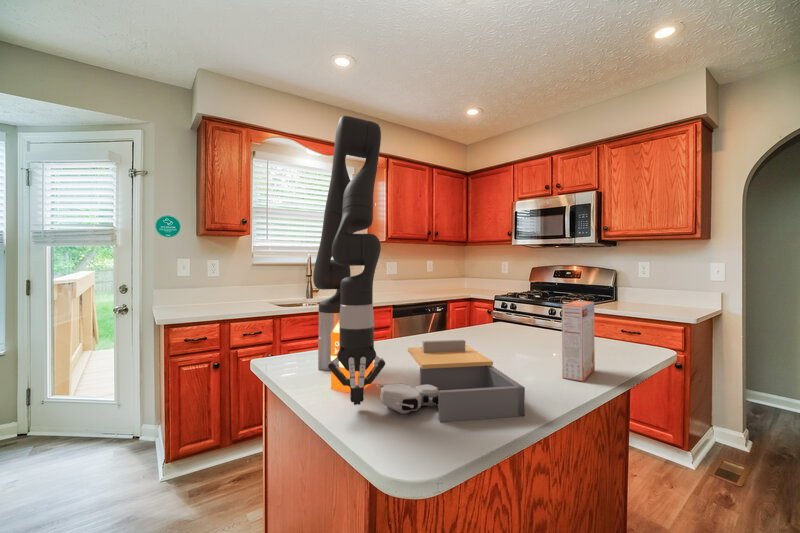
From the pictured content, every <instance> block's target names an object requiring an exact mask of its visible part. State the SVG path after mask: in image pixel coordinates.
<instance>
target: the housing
mask: <svg viewBox="0 0 800 533" xmlns="http://www.w3.org/2000/svg"><path fill="white" fill-rule="evenodd" d="M424 384H428V385H433V386H435V387H437V388H439V389H440V391H438V405H437V406H438V407H437V408H438V409H437V410H438V412H437V413H438V416H437V418H438V422H439V423H445V422H459V421H460V422H461V421H469V420H470V421H472V420H473V421H474V420H486V419H487V420H488V419H498V418H499V419H500V418H514V417H524V416H525V415H526V414H525V412H526V411H525V409H526V408H525V405H526V403H525V402H526V399H525V398H526V396H525V392H526V390H525V387H524V386H523V385H522V384H520V383H519V382H518V381H515V380H514V379H513V378H511V377H509V376H508V375H507V374H505V373H503V372H502V371H500V370H499V369H497V368H496V367H494V365H490V366H470V367H449V368H428V369H422V368H421V367H420V366H419V385H424Z"/></svg>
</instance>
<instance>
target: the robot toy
mask: <svg viewBox="0 0 800 533" xmlns="http://www.w3.org/2000/svg"><path fill="white" fill-rule="evenodd" d="M375 386H376V387H378V388H379V387H380V397H379V398H380V400H381V402H382V404H384V406H386V407H387V408H389V409H391V410H393V411H396V412H398V413H400V414H401V415H406V414H408V413H410V412H411V411H413V412H414V411H417V410H419V409H420V408H421V406H428V407H435V406H436V405H437V406H438V391H440V389H439V388H437V387H435V386H433V385H428V384H424V385H420V384H419V385H416V387H415V388H414V387H412V386H410V385H408V384H406V383H405V384H404V383H387V384H384V385H380V384H375Z"/></svg>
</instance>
